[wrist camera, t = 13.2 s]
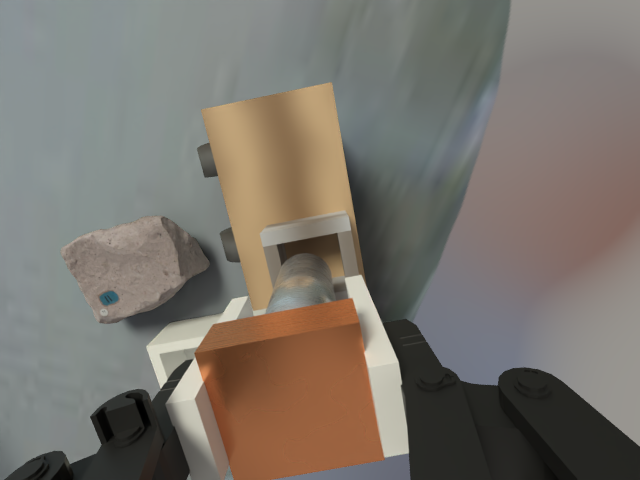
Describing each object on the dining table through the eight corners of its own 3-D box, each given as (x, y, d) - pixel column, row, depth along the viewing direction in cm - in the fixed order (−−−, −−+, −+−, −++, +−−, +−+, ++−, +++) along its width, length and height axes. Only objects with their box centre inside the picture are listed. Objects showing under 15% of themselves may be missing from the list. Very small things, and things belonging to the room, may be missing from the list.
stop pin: (277, 318, 20) (235, 485, 9) (260, 250, 19) (194, 353, 8) (347, 305, 20) (384, 460, 9) (334, 236, 19) (359, 322, 8)
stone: (119, 315, 36) (82, 343, 31) (75, 240, 34) (27, 255, 29) (224, 274, 36) (207, 295, 30) (186, 195, 34) (159, 201, 28)
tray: (195, 403, 39) (178, 437, 34) (169, 322, 36) (146, 346, 32) (316, 383, 38) (316, 415, 33) (297, 299, 36) (294, 320, 31)
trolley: (246, 274, 35) (202, 337, 22) (209, 134, 32) (133, 111, 19) (353, 254, 35) (373, 306, 22) (327, 109, 31) (333, 68, 18)
